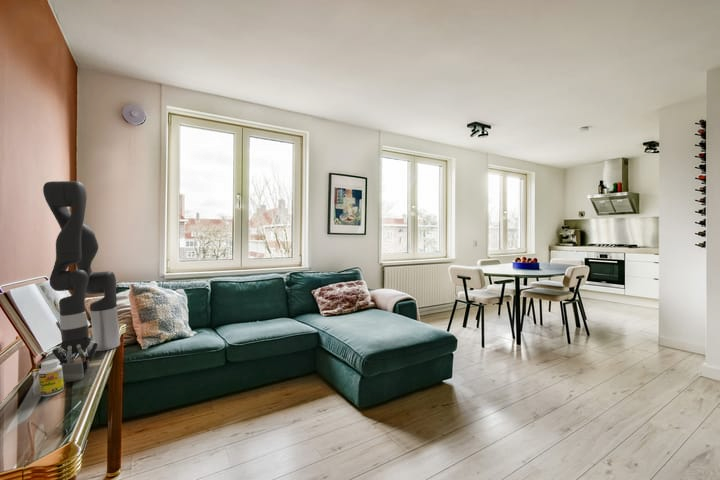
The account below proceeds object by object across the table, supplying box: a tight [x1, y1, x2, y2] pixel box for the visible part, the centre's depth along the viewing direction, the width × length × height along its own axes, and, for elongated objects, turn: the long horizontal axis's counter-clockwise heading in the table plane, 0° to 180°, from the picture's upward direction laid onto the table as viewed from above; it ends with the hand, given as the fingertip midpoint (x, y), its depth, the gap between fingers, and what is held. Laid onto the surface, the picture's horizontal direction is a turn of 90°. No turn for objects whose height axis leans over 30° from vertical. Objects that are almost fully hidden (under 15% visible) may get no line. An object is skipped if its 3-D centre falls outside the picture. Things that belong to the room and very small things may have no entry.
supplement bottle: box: [38, 358, 65, 397], centre depth 108 cm, size 6×6×10 cm
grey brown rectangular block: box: [60, 355, 90, 384], centre depth 121 cm, size 13×7×6 cm, turn 23°
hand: (79, 371), depth 123 cm, fingers closed on grey brown rectangular block, 2 cm apart
